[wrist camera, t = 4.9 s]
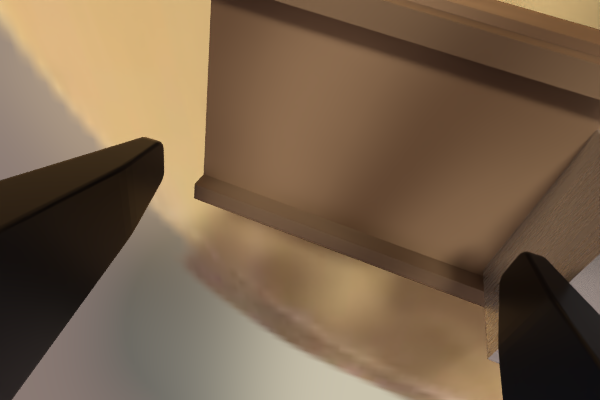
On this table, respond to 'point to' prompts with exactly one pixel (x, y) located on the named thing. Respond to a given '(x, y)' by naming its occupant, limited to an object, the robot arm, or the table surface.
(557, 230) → the block
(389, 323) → the table surface
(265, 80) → the beam
